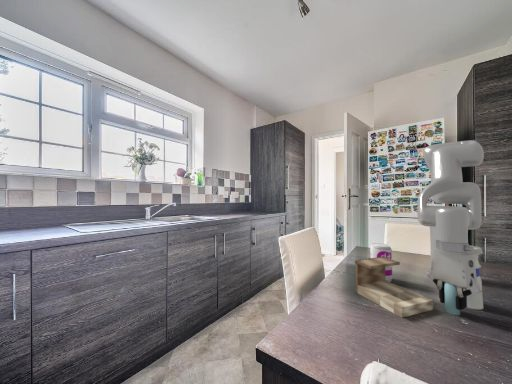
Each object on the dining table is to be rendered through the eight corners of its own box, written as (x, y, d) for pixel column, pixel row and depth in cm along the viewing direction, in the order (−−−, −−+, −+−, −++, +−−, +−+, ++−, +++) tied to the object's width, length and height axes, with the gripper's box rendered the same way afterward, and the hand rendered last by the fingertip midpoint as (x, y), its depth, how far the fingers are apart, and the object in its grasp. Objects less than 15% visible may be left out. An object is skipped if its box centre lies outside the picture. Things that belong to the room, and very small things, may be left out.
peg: (449, 308, 69) (448, 277, 69) (463, 314, 66) (462, 281, 66) (442, 310, 68) (441, 278, 68) (455, 316, 64) (455, 283, 65)
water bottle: (444, 300, 74) (443, 228, 75) (457, 295, 78) (456, 227, 78) (475, 312, 67) (474, 232, 67) (489, 306, 70) (487, 230, 71)
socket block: (383, 286, 85) (382, 256, 85) (433, 309, 68) (432, 271, 68) (355, 292, 81) (355, 260, 81) (401, 317, 64) (401, 277, 64)
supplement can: (395, 284, 88) (395, 247, 88) (374, 282, 90) (373, 246, 90) (387, 276, 96) (387, 243, 96) (367, 275, 98) (367, 242, 98)
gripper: (494, 252, 60) (495, 317, 60) (430, 240, 76) (431, 292, 76) (478, 254, 58) (480, 322, 58) (415, 242, 74) (416, 295, 73)
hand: (452, 304), depth 67 cm, fingers closed on peg, 3 cm apart
